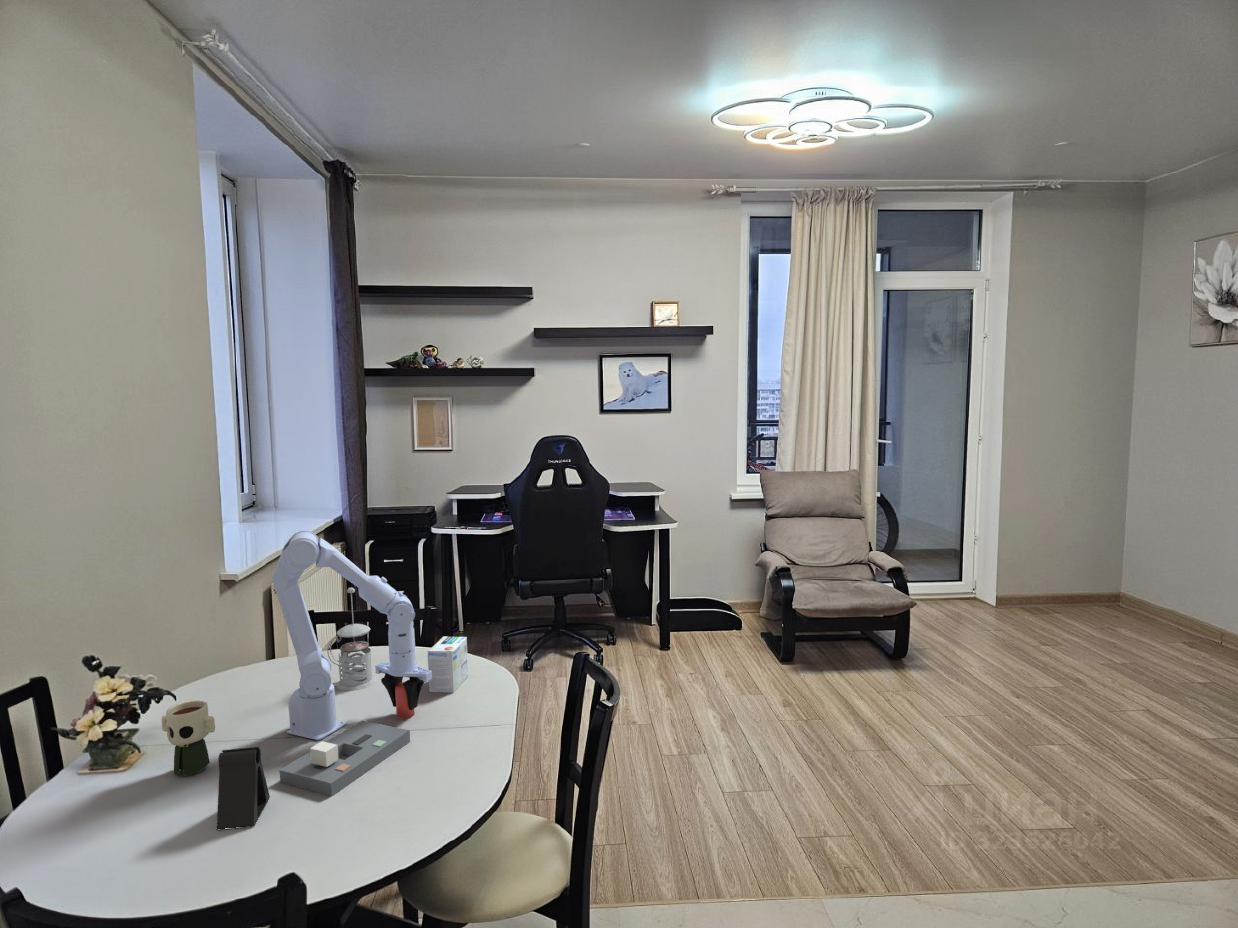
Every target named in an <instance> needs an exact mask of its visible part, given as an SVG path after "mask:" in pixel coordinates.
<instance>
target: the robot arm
mask: <svg viewBox="0 0 1238 928" xmlns="http://www.w3.org/2000/svg"><path fill="white" fill-rule="evenodd" d="M313 564H315V568H330V569H332V570H333V571H334V572H336V573H337V574H339V575H340V576H341V577H343V578H344V579H346V580H347V581H348V582H350V583H351V584H352V585H354V586H355V587H357V588H358V596H359V598H361V599H363V601H364V602H366V603H368V604H369V605H370V606H372V608H374V609H375V610H376V611H378V612H379V613H380V614H384V615H386V616H387V621H388V631H387V635H388V636H387V637H388V659H389V662H379V663H378V664H376V665H375V674H378V675H380V674H384V677H382V678H380V681H381V682H380V683H382V685H383V686H384V688H385V689H386V691H387V694H388V696H389V698H390V701H391V703H392V707H394V708H396V697H395V685H397V684H399V683H402V682H404V683H403V685H404V687H405V690H406V693H407V698H408V707H409V710H413V709H414V710H415V709H416V708H417V707H418V704H419V698H420V694H421V691H422V689H423V686H424V684H425V683H429V680H431V679H432V671H430V670H428V669H426V668H424V667H422V666H419V665H418V662H416V659H417V658H416V641H415V640H416V638H415V637H416V636H415V627H414V620H415V617H416V612H415V609H414V607H413V604H412V602H411V600H410V599H409V598H408V596H407V595H406V594H403V592H402V591H401V590H399V591H397V590H396V589H395V588H394V587H392V586H391V585H390V584H389V583H388V580H387V578H386V577H384V576H382V577H380V576H379V575H368V574H366V573H365V572H364V571H363V570H362V569H361V568H359V567H358V566H357V565H356V564H355V563H353V562H352V561H351V560H350V559H348V557H346V556H345V555H344V553H342V552H340V550H339V549H337V548H336V547H334V546H333V545H332V544H331V543H330V542H328V541H326V540H325V539H323V538H321V537H320V538H319V536H318V535H317V534H316V533H314V532H312V531H310V530H299V531H297V532H295V533H294V534H293V535H292V536H290V538H289V539H288V541H286V543H285V544H284V546H283V548H282V551H281V554H280V555H279V558H278V561H277V564H276V567H275V570H274V572H273V575H272V584H273V587H274V590H275V593H276V597H277V600H278V602H279V605H280V609H281V612H282V615H283V618H284V620H285V624H286V627H287V630H288V633H289V636H290V639H291V643H292V645H293V648H294V651H295V655H296V660H297V665H298V671H299V674H300V679H299V687H298V688H297V689H296V690H294V691H293V692H292V694H291V695H290V698H289V699H288V700H289V701H288V714H289V715H288V718H289V730H287V731H286V733H287V734H288V735H293V736H297V737H298V736H299V737H302V738H307V739H310V740H311V739H312V740H314V741H322V740H323V739H324V738H326V737H327V736H329V735H331V734H333V733H335V732H336V731H338V730H340V729H341V728H343V727H344V726H346V722H345V721H340V720H337V709H336V694H335V685H334V684H333V682H332V677H331V671H332V664H331V663H332V662H331V661H330V659H329V658H328V657H326V656H325V655H324V654H323V652H322V648H321V646H320V645H319V642H318V639H317V635H316V633H315V630H314V627H313V623H312V621H311V618H310V617H311V616H310V614H309V610H308V607H307V605H306V603H305V602H306V601H305V599H304V596H303V591H302V589H301V586H300V582H299V579H300V578H301V577H302V575H303V574H304V572H305V571H306V569H307V570H308V569H309V568H310V567H311V566H313ZM404 678H409V679H407V680H405V681H404V680H403V679H404Z"/></svg>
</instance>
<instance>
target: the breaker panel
mask: <svg viewBox="0 0 1238 928" xmlns="http://www.w3.org/2000/svg"><path fill="white" fill-rule="evenodd" d="M326 742H328V743H332V744H336V745H338V760H337V761H335V762H334V763H332V764H331V765H329V766H328V767H325V766H321V765H317V764H313V763H311V755H310V751H308V752H307V753H305V754H303V755H302V756H301V757H298V758H297V759H295V760H294V761H292V762H291V763H289V764H287V765H285V766H284V767H282V768H280V769H279V782H280V783H281V784H284V785H288V786H291V787H292V786H293V787H296V788H300V789H304V790H307V791H312V792H314V793H319V794H323V795H327V796H331V797H333V796H335V795H336V794H337V793H339V792H341V791H342V790H343V789H344V788H346V787H347V786H349V785H350V784H351V783H353V782H355V781H356V780H358V779H359V778H361V776H363V775H364V774H366V773H367V772H369V771H370V770H372V769H373V768H375V767H376V766H378V765H379V764H380V763H382V762H383V761H384V760H386V759H388V758H389V757H391V756H392V755H393V754H395V753H396V752H397V751H399V750H400V749H402V748H403V747H405V746H406V745H408V744H409V743H410V742H411V730H409V729H407V728H406V729H405V728H402V727H401V728H400V727H395V726H391V725H385V724H382V723H381V724H380V723H375V722H371V721H367V720H360V721H359V722H357V723H355V724H353V725H352V726H350V727H348V728H346V729H345V730H344V731H342V732H339V734H337V735H335V736H334V737H331V738H330V739H328V740H327V741H326ZM343 756H348V757H347V758H346V759H341V758H342V757H343Z"/></svg>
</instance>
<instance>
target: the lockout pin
mask: <svg viewBox="0 0 1238 928" xmlns="http://www.w3.org/2000/svg"><path fill="white" fill-rule="evenodd" d="M404 682H405V681H402V683H399V684H397V685H395V697H396V707H395V709H396V710H395V711H396V712H395V714H396V718H397V719H403V720H404V719H409V718H412V717H413V716H415V715H416V714H415V708H414V709H413V710H409V707H408V698H407V693H406V690H405V687H404V685H403V683H404Z"/></svg>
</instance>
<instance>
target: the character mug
mask: <svg viewBox="0 0 1238 928" xmlns="http://www.w3.org/2000/svg"><path fill="white" fill-rule="evenodd" d="M165 713H166V714H165V715H162V717H161V728H162V731H163V732H166V736H167V741H168V742H169V743H170V744H171V745H173V746H174V755H173V774H174V775H176V776H179V775H180V771H183V772H182V774H183V776H189V775H193V774H194V775H195V774H196V773H200V772H202V771H203V770H204V769H205V768H206V767H208V766H209V764H210V763H211V762H210V757H209V751H208V747H207V743H206V740H205V738H206V737H207V736H208V735H209V733H210V734H211V733H214V732H215V730H216V722H215V721H216V720H215V717H214V716H212V715H210V716H209V706H208V702H207V701H205V700H202V699H193V700H187V701H183V702H178V703H176V704H174V705H172V706H170V707H168V709H167V710H166V712H165Z"/></svg>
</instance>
